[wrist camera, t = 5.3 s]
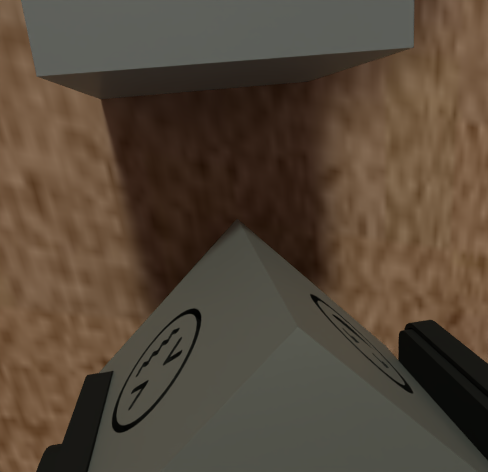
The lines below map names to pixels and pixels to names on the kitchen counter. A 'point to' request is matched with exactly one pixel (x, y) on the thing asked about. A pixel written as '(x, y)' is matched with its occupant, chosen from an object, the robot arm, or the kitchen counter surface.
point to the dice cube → (266, 382)
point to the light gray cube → (208, 42)
